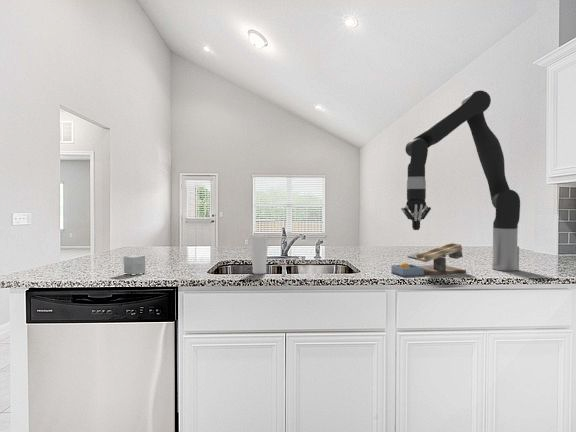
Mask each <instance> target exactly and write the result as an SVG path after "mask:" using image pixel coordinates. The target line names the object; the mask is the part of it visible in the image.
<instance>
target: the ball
mask: <svg viewBox="0 0 576 432" xmlns="http://www.w3.org/2000/svg"><path fill="white" fill-rule="evenodd" d="M399 265H400V267H401V268H410V266H409V263H408V262H402V263H401V264H399Z"/></svg>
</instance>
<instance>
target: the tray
mask: <svg viewBox="0 0 576 432" xmlns="http://www.w3.org/2000/svg"><path fill="white" fill-rule="evenodd" d="M408 264H409V263H408ZM400 265H401V264H391V273H392V274H394V275H397V276H400V277H416V276H417V277H419V276H418V275H421V276H425V275H424V268H423V267H420V266H421V265H415V264H411V263H410V264H409V266H410V268H401V267H400Z"/></svg>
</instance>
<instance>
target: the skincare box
mask: <svg viewBox="0 0 576 432" xmlns="http://www.w3.org/2000/svg"><path fill="white" fill-rule="evenodd" d="M146 272H147V271H146V256H145V255H140V254H139V255H138V254H132V255H125V256H123V274H124V273H127V274H140V273H145V274H146Z"/></svg>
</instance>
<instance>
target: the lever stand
mask: <svg viewBox="0 0 576 432" xmlns="http://www.w3.org/2000/svg"><path fill="white" fill-rule="evenodd" d="M419 266H420V267H423V268H424V275H423V276H430V275H432V276H433V275H449V274H448V273H452V274H466V273H467V270H466V269H463V268H458V267H454V266H450V265H447V258H446V257H445V258H443V257H440V258H437V259H434V260H433V264H431V265H430V264H429V265H419Z"/></svg>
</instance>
